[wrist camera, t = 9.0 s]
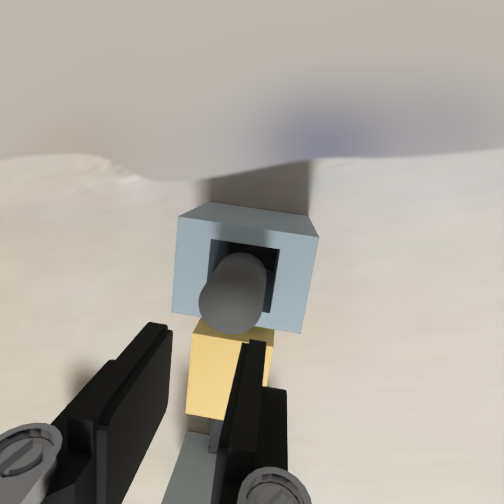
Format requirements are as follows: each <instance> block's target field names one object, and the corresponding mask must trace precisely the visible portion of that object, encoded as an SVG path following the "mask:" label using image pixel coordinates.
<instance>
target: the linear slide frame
mask: <svg viewBox="0 0 504 504" xmlns="http://www.w3.org/2000/svg"><path fill="white" fill-rule="evenodd" d="M318 240H319V236H318V234H317V232H316V230H315V228H314V226H313V224H312V222H311V220H310V218H309V216H306V215H299V214H292V213H285V212H278V211H271V210H264V209H257V208H250V207H244V206H237V205H230V204H223V203H216V202H208V203H205V204H203V205H201V206H199V207H197V208H195V209H193V210H191V211H189V212H186V213H184V214H182V215H180V216H178V223H177V238H176V252H175V267H174V281H173V296H172V310H171V312H173V313H179V314H185V315H191V316H197V317H202V316H201V314H200V311H199V305H198V301H199V295H200V293H201V290H202V289H203V287H204V286H205V284H206V283H207V281H208V280H209V278H210V277H211V275H212V274H213V272H214V271H215V269H216V268H217V266H218V265H219V263H220V262H221V260H222V259H223V258H225V257H226V256H228V252H229V243H230V242H235V243H242V244H249V245H255V246H262V247H268V248H275V249H277V255H276V261H275V268H274V271H270V270H266V274H267V281H266V288H265V295H264V301H263V308H262V313H261V316H260V319H259V321H258V322H257V323H256V325H255V326H257V327H263V328H269V329H275V330H281V331H287V332H293V333H299V334H301V329H302V323H303V318H304V313H305V308H306V303H307V298H308V292H309V287H310V282H311V277H312V272H313V266H314V261H315V256H316V251H317V246H318ZM209 437H210V435H207V434H202V433H197V432H191V431H188V432H187V434H186V437H185V440H184V443H183V445H182V448H181V451H180V454H179V456H178V459H177V462H176V465H175V467H174V470H173V473H172V476H171V478H170V481H169V484H168V487H167V490H166V492H165V495H164V498H163V501H162V503H161V504H210V502H211V494H212V487H213V479H214V471H215V463H216V456H217V454H212V453H208V446H209Z"/></svg>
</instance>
